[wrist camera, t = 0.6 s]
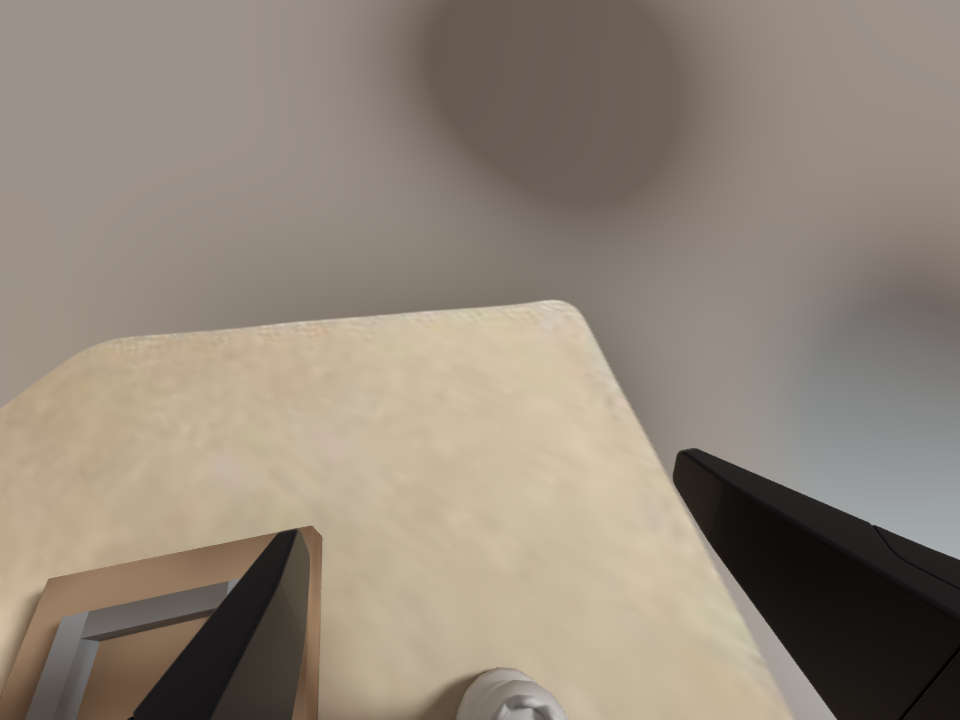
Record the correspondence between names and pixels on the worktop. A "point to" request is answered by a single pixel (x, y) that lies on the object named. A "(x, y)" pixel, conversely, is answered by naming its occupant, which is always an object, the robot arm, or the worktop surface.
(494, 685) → the rook chess piece
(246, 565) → the plinth
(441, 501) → the worktop surface
